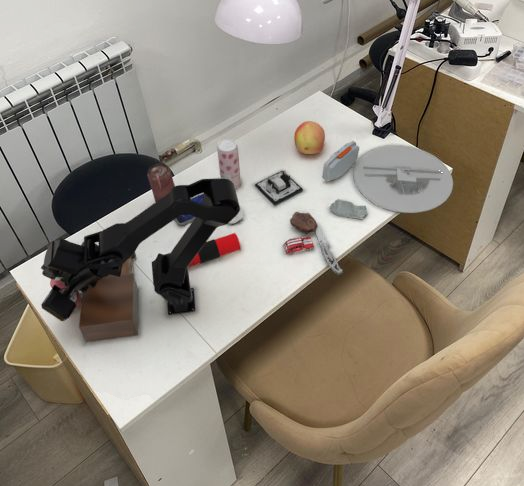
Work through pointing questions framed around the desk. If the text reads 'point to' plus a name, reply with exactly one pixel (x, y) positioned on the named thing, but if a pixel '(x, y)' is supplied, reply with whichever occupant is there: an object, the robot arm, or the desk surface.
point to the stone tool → (348, 209)
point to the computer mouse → (237, 217)
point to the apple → (309, 137)
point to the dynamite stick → (216, 249)
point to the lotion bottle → (60, 285)
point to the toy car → (298, 245)
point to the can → (160, 180)
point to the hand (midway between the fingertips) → (60, 288)
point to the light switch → (278, 187)
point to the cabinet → (110, 309)
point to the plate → (403, 179)
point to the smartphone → (188, 218)
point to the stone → (303, 222)
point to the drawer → (127, 266)
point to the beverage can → (229, 161)
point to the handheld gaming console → (340, 161)
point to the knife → (327, 251)
